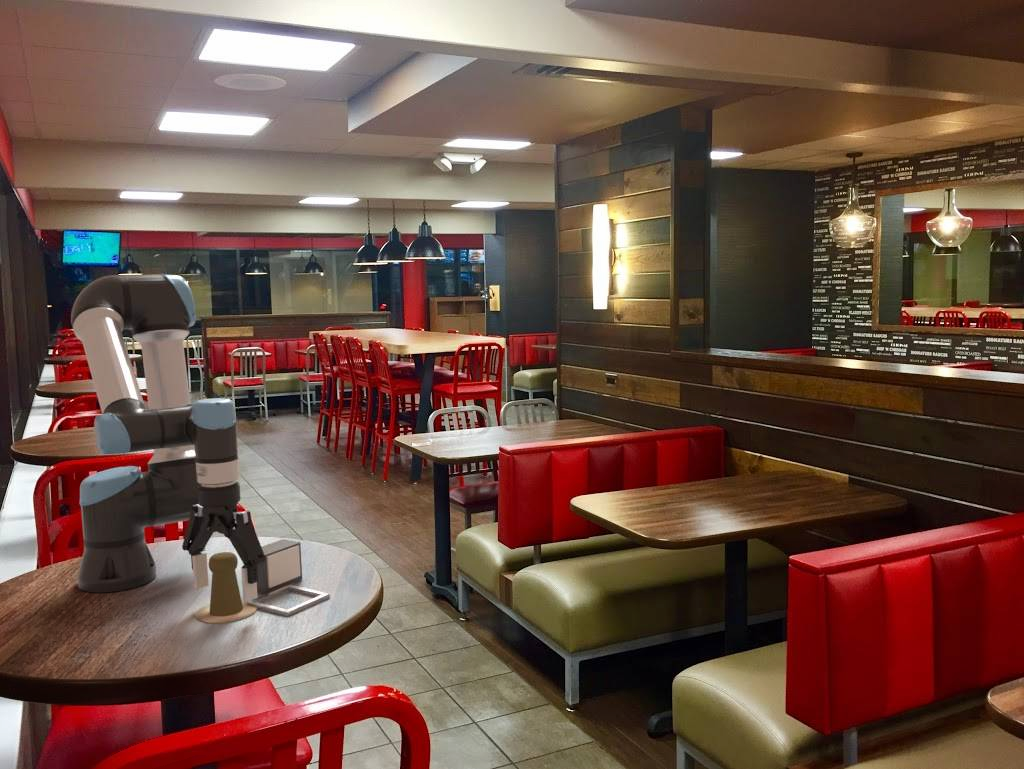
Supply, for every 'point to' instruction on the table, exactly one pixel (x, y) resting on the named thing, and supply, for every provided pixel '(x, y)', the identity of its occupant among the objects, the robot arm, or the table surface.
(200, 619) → the tan round coaster
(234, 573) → the pepper shaker
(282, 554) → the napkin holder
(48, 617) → the table surface
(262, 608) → the taupe square frame
